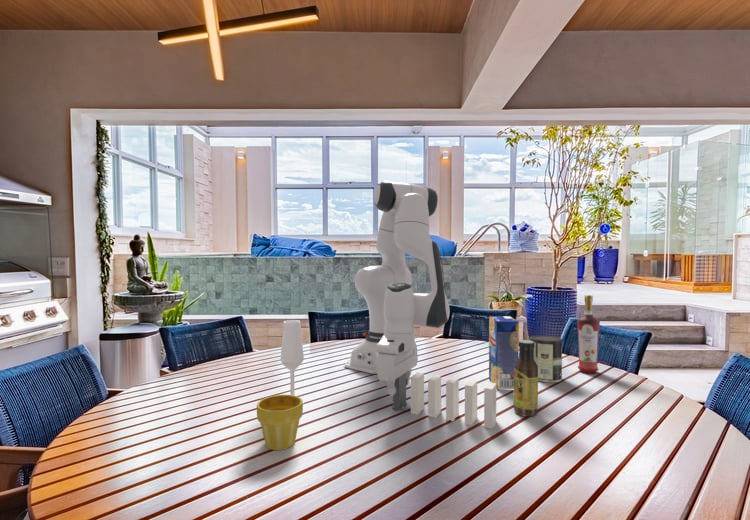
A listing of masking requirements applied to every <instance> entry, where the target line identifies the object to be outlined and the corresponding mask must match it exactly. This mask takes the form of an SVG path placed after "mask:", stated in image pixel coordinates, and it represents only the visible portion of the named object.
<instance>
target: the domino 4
mask: <svg viewBox="0 0 750 520" xmlns="http://www.w3.org/2000/svg"><path fill="white" fill-rule="evenodd" d="M459 384H460V378H458V377H453V376H451V377H450V378H449V379H448V380H447V381H445V420H446V421H449V420H451V421H450V422H454V421H455V420H456V419H457V418H456V417H458V416H459V415H460V414H459V413H460V404H459V403H460V401H459V400H460V389H459V388H460V386H459ZM455 418H456V419H455Z"/></svg>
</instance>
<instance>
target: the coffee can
mask: <svg viewBox="0 0 750 520" xmlns="http://www.w3.org/2000/svg"><path fill="white" fill-rule="evenodd" d="M529 339H530V341H533V342H534V346H535V347H534V358H533V359H534V361H535V362H536V364H537V366H538V382H541V381H542V382H543V383H560V382H562V381H563V373H562V372H563V370H562V369H563V365H562V364H563V338H561V337H559V336H553V335H546V334H545V335H543V334H539V335H531V336H530V338H529Z"/></svg>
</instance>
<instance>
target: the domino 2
mask: <svg viewBox="0 0 750 520" xmlns="http://www.w3.org/2000/svg"><path fill="white" fill-rule="evenodd" d="M423 410H425V373H423V372H416V373H414V374H413V375H412V376H410V414H412V415H419V414H420V413H421V412H422V411H423Z"/></svg>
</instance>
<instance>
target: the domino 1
mask: <svg viewBox="0 0 750 520" xmlns="http://www.w3.org/2000/svg"><path fill="white" fill-rule="evenodd" d="M394 386H395V388H396V394H394V395H392V410H393V411H398V412H400V411H401V410H402V409H403V408H404V407H406V406H407V385H406V373H404V374H403V375H401V376H400V377H398V378H397V379H395V383H394Z"/></svg>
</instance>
